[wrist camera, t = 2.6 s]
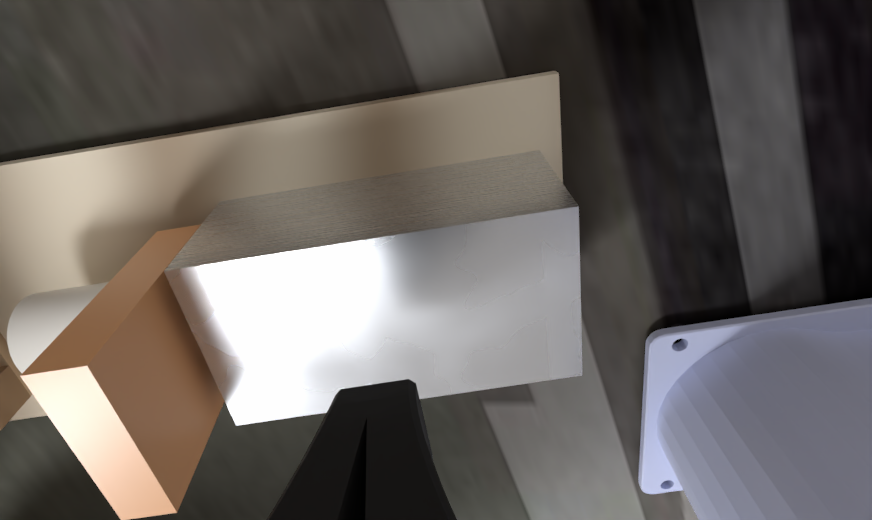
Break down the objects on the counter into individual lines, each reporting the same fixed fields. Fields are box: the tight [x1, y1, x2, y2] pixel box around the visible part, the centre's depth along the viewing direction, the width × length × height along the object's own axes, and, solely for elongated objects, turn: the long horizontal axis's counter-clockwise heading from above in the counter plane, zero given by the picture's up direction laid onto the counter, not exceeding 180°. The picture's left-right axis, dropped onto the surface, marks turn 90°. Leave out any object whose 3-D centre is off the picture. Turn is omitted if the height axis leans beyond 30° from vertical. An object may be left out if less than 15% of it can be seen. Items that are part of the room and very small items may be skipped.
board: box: [0, 71, 563, 421], centre depth 16 cm, size 22×8×1 cm, turn 99°
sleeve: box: [164, 150, 582, 426], centre depth 14 cm, size 9×5×4 cm, turn 99°
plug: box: [7, 224, 224, 520], centre depth 13 cm, size 12×4×6 cm, turn 99°
